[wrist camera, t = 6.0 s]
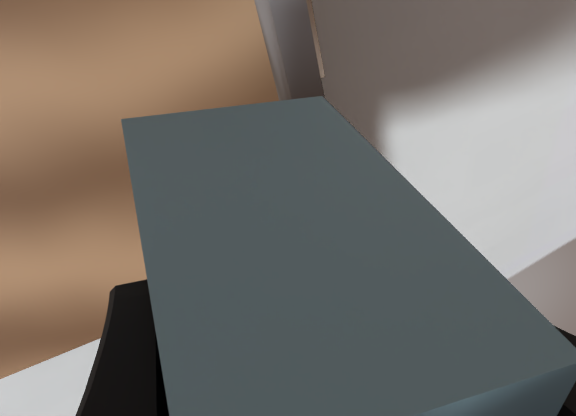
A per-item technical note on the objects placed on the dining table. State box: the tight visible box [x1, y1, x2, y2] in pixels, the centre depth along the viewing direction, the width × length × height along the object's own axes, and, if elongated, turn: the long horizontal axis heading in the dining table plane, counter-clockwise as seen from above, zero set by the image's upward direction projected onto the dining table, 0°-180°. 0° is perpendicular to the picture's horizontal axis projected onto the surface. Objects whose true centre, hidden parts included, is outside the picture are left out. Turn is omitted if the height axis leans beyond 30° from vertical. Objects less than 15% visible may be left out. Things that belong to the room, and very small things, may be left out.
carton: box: [121, 96, 576, 416], centre depth 9 cm, size 4×6×7 cm
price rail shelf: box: [0, 0, 325, 379], centre depth 16 cm, size 15×15×3 cm
